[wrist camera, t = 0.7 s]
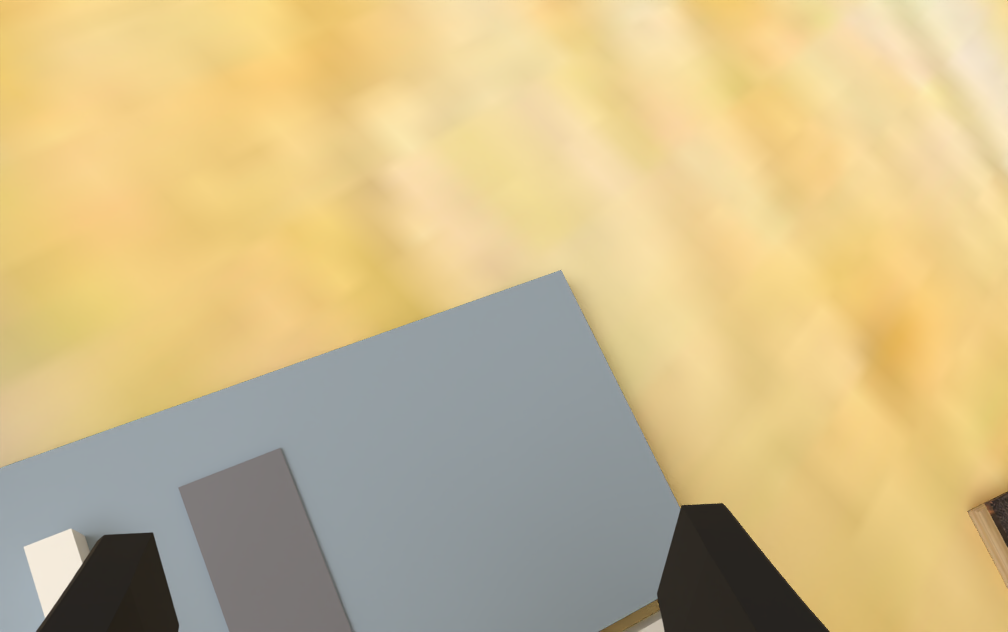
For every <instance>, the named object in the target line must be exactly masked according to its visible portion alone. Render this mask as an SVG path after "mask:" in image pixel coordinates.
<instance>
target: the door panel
mask: <svg viewBox="0 0 1008 632" xmlns="http://www.w3.org/2000/svg"><path fill="white" fill-rule="evenodd" d="M679 513H680V507H679V505H678V503H677V501H676V499H675V497H674V495H673V493H672V491H671V489H670V487H669V485H668V483H667V481H666V479H665V477H664V475H663V473H662V471H661V469H660V467H659V465H658V463H657V461H656V459H655V457H654V455H653V453H652V451H651V449H650V447H649V445H648V443H647V441H646V439H645V437H644V435H643V433H642V431H641V429H640V427H639V425H638V423H637V421H636V419H635V417H634V415H633V413H632V411H631V409H630V407H629V405H628V403H627V401H626V399H625V397H624V395H623V393H622V391H621V389H620V387H619V385H618V383H617V381H616V379H615V377H614V375H613V373H612V371H611V369H610V367H609V365H608V363H607V361H606V359H605V357H604V355H603V353H602V351H601V349H600V347H599V345H598V343H597V341H596V339H595V337H594V335H593V333H592V331H591V329H590V327H589V325H588V323H587V321H586V319H585V317H584V315H583V313H582V311H581V309H580V307H579V305H578V303H577V301H576V299H575V297H574V295H573V293H572V291H571V289H570V287H569V285H568V283H567V281H566V279H565V277H564V275H563V273H562V271H561V270H560V271H557V272H554V273H551V274H548V275H546V276H543V277H540V278H537V279H534V280H531V281H529V282H526V283H523V284H520V285H517V286H514V287H512V288H509V289H506V290H503V291H500V292H498V293H495V294H492V295H489V296H486V297H483V298H481V299H478V300H475V301H472V302H469V303H466V304H464V305H461V306H458V307H455V308H452V309H449V310H447V311H444V312H441V313H438V314H435V315H432V316H430V317H427V318H424V319H421V320H418V321H415V322H413V323H410V324H407V325H404V326H401V327H398V328H396V329H393V330H390V331H387V332H384V333H381V334H379V335H376V336H373V337H370V338H367V339H364V340H362V341H359V342H356V343H353V344H350V345H347V346H345V347H342V348H339V349H336V350H333V351H330V352H328V353H325V354H322V355H319V356H316V357H313V358H311V359H308V360H305V361H302V362H299V363H296V364H294V365H291V366H288V367H285V368H282V369H279V370H277V371H274V372H271V373H268V374H265V375H262V376H260V377H257V378H254V379H251V380H248V381H245V382H243V383H240V384H237V385H234V386H231V387H228V388H226V389H223V390H220V391H217V392H214V393H211V394H209V395H206V396H203V397H200V398H197V399H194V400H192V401H189V402H186V403H183V404H180V405H177V406H175V407H172V408H169V409H166V410H163V411H160V412H158V413H155V414H152V415H149V416H146V417H143V418H141V419H138V420H135V421H132V422H129V423H126V424H124V425H121V426H118V427H115V428H112V429H109V430H107V431H104V432H101V433H98V434H95V435H92V436H90V437H87V438H84V439H81V440H78V441H75V442H73V443H70V444H67V445H64V446H61V447H58V448H56V449H53V450H50V451H47V452H44V453H41V454H39V455H36V456H33V457H30V458H27V459H24V460H22V461H19V462H16V463H13V464H10V465H7V466H5V467H2V468H0V632H36V631H37V629H38V628H39V626H40V625H41V624H42V622H43V621H44V619H45V618H46V616H47V615H48V614H49V612H50V611H51V609H52V608H53V606H54V605H55V604H56V602H57V601H58V599H59V598H60V596H61V595H62V593H63V592H64V590H65V589H66V587H67V586H68V584H69V583H70V581H71V580H72V578H73V577H74V575H75V574H76V572H77V571H78V569H79V568H80V566H81V565H82V563H83V562H84V560H85V559H86V557H87V556H88V554H89V553H90V551H91V550H92V548H93V546H94V545H95V543H96V542H97V541H98V540H99V539H100V538H101V537H102V536H103V535H109V534H129V533H149V532H153V534H154V537H155V541H156V545H157V548H158V552H159V555H160V559H161V562H162V566H163V569H164V573H165V576H166V580H167V583H168V587H169V590H170V594H171V597H172V601H173V605H174V608H175V612H176V615H177V619H178V622H179V630H178V632H599V631H601V630H602V629H604V628H606V627H608V626H610V625H611V624H613V623H615V622H617V621H619V620H621V619H622V618H624V617H626V616H628V615H630V614H631V613H633V612H635V611H637V610H639V609H640V608H642V607H644V606H646V605H648V604H649V603H651V602H653V601H655V600H657V599H658V597H657V591H658V588H659V584H660V580H661V577H662V573H663V570H664V566H665V563H666V559H667V556H668V552H669V548H670V545H671V541H672V538H673V534H674V531H675V527H676V523H677V520H678V516H679Z"/></svg>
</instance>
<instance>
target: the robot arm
mask: <svg viewBox="0 0 1008 632" xmlns="http://www.w3.org/2000/svg"><path fill="white" fill-rule="evenodd" d="M657 597H658V602H659V607H660V612H661V617H662V621H663V626H664V631H665V632H829V630H828V629H827V628H826V627H825V626H824V625H823V624H822V622H821V621H820V620H819V619H818V618H817V617H816V616H815V614H814V613H813V612H812V611H811V610H810V609H809V608H808V606H807V605H806V604H805V603H804V602H803V601H802V599H801V598H800V597H799V596H798V595H797V593H796V592H795V591H794V590H793V589H792V588H791V586H790V585H789V584H788V583H787V581H786V580H785V579H784V578H783V577H782V575H781V574H780V573H779V572H778V571H777V569H776V568H775V567H774V566H773V564H772V563H771V562H770V561H769V560H768V558H767V557H766V556H765V555H764V553H763V552H762V551H761V550H760V548H759V547H758V546H757V545H756V543H755V542H754V541H753V540H752V538H751V537H750V536H749V535H748V533H747V532H746V531H745V530H744V528H743V527H742V526H741V525H740V523H739V522H738V521H737V520H736V518H735V517H734V516H733V515H732V513H731V512H730V511H729V510H728V508H727V507H726V506H725V505H724V504H723V503H720V504H700V505H682V506H681V509H680V513H679V516H678V520H677V523H676V527H675V531H674V534H673V538H672V541H671V545H670V548H669V552H668V556H667V559H666V563H665V566H664V570H663V573H662V577H661V580H660V584H659V588H658V591H657ZM178 630H179V622H178V619H177V615H176V612H175V608H174V605H173V601H172V597H171V594H170V590H169V587H168V583H167V580H166V576H165V573H164V569H163V566H162V562H161V559H160V555H159V552H158V548H157V545H156V541H155V537H154V534H153V532H149V533H129V534H109V535H103V536H102V537H101V538H100V539H99V540H98V541H97V542H96V543H95V545H94V546H93V548H92V550H91V551H90V553H89V554H88V556H87V557H86V559H85V560H84V562H83V563H82V565H81V566H80V568H79V569H78V571H77V572H76V574H75V575H74V577H73V578H72V580H71V581H70V583H69V584H68V586H67V587H66V589H65V590H64V592H63V593H62V595H61V596H60V598H59V599H58V601H57V602H56V604H55V605H54V606H53V608H52V609H51V611H50V612H49V614H48V615H47V616H46V618H45V619H44V621H43V622H42V624H41V625H40V626H39V628H38V629H37V631H36V632H178Z"/></svg>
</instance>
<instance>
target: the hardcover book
mask: <svg viewBox="0 0 1008 632" xmlns="http://www.w3.org/2000/svg"><path fill="white" fill-rule="evenodd" d="M967 512H968V514H969V516H970V517H971V519H972V521H973V523H974V525H975V527H976V529H977V531H978V533H979V535H980V537H981V538H982V540H983V542H984V544H985V546H986V548H987V550H988V552H989V554H990V556H991V558H992V559H993V561H994V563H995V565H996V567H997V569H998V571H999V573H1000V575H1001V577H1002V579H1003V580H1004V582H1005V584H1006V586H1007V588H1008V492H1006V493H1004V494H1002V495H1000V496H998V497H996V498H994V499H992V500H990V501H987V502H985V503H983V504H981V505H979V506H977V507H975V508H973V509H971V510H969V511H967Z"/></svg>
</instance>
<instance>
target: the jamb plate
mask: <svg viewBox="0 0 1008 632" xmlns="http://www.w3.org/2000/svg"><path fill="white" fill-rule="evenodd" d="M622 632H665V631H664V626H663V621H662V617H661V612H660V610H659V611H658V612H656V613H654V614H652V615H650V616H649V617H647V618H645V619H643V620H642V621H640V622H638V623H636V624H634V625H633V626H631V627H629V628H627V629H625V630H624V631H622Z"/></svg>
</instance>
